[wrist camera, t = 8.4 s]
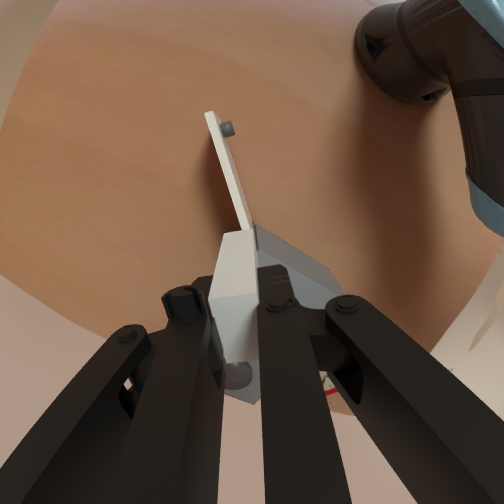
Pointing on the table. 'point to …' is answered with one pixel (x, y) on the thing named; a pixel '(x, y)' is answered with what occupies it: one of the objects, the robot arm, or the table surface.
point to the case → (305, 290)
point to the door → (229, 167)
